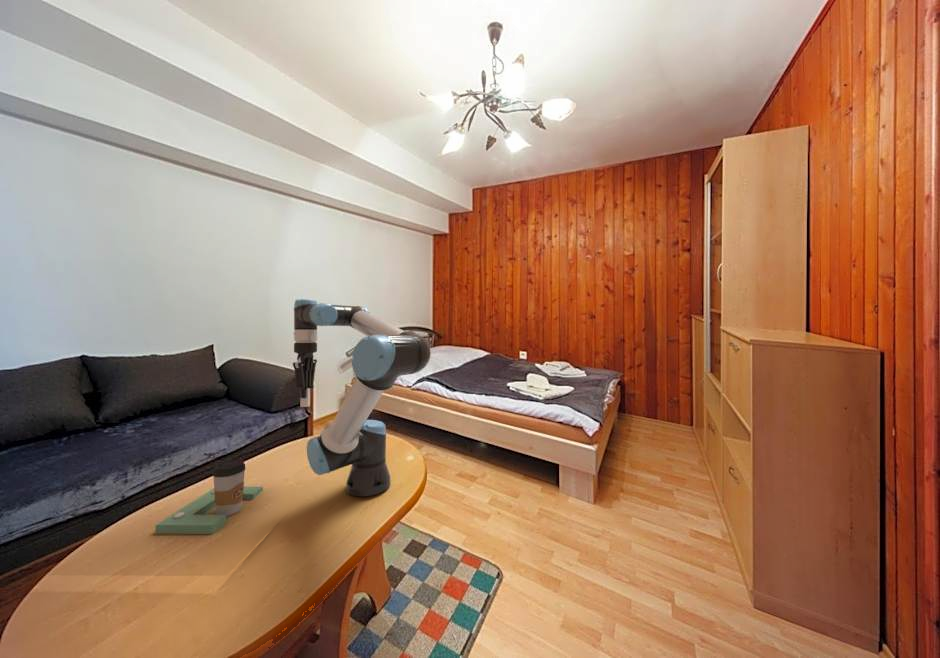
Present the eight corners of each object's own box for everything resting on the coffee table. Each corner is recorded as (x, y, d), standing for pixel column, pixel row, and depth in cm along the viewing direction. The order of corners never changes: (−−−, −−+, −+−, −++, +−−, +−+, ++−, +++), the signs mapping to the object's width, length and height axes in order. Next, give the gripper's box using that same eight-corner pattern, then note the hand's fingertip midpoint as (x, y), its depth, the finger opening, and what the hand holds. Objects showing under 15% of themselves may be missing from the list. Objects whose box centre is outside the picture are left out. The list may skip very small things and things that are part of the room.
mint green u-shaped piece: (262, 493, 112) (262, 484, 112) (212, 534, 90) (212, 523, 90) (216, 493, 112) (216, 484, 112) (155, 533, 90) (155, 522, 90)
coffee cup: (228, 520, 96) (229, 470, 96) (204, 518, 98) (205, 468, 98) (251, 505, 104) (252, 459, 104) (229, 503, 106) (229, 457, 106)
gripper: (304, 341, 124) (304, 402, 124) (285, 342, 111) (284, 410, 111) (323, 341, 124) (323, 402, 124) (307, 342, 111) (306, 411, 111)
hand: (305, 406), depth 117 cm, fingers closed
